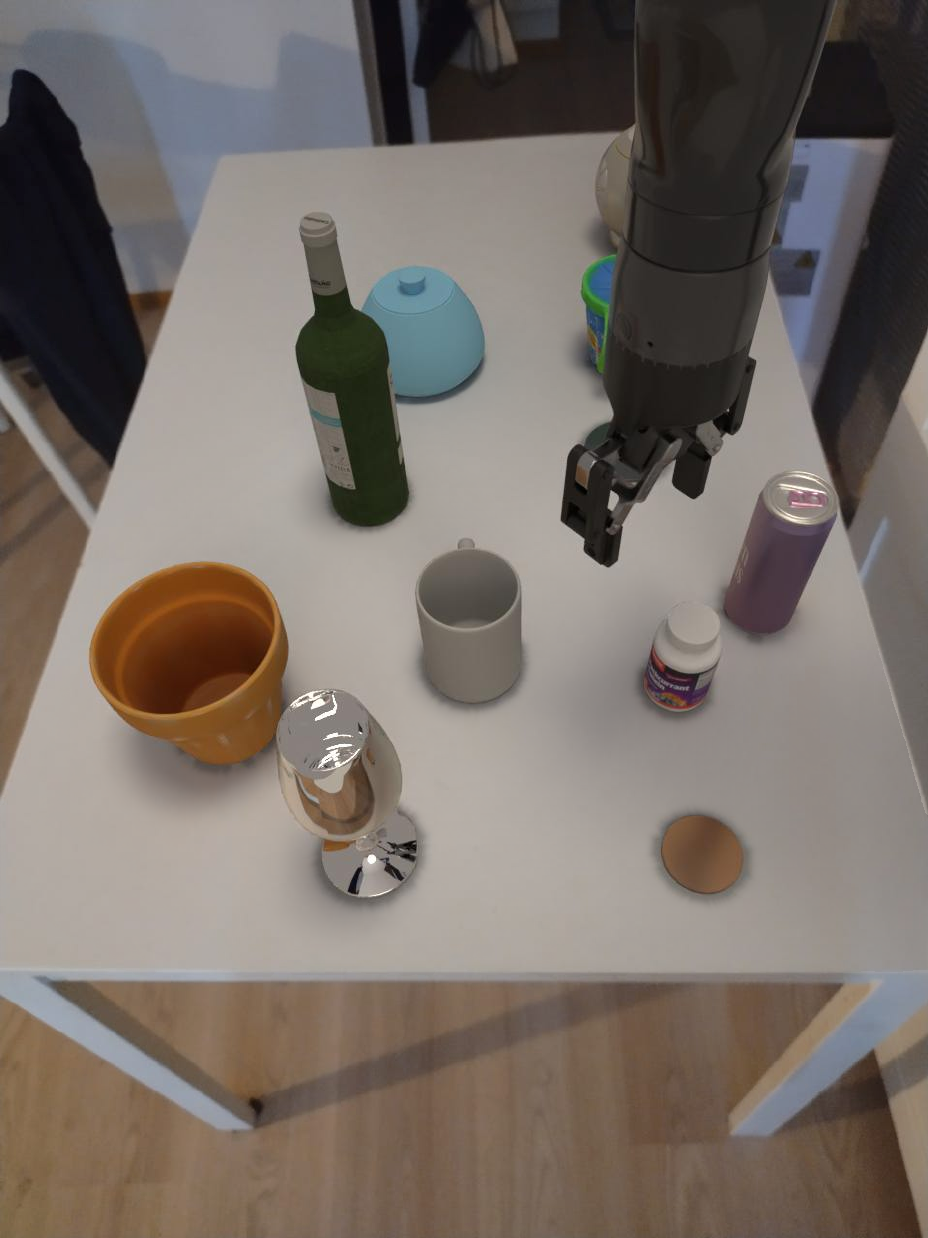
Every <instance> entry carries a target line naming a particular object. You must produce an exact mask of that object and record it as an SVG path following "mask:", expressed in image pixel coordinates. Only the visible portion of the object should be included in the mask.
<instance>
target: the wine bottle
mask: <svg viewBox="0 0 928 1238" xmlns="http://www.w3.org/2000/svg"><path fill="white" fill-rule="evenodd" d="M298 231H299V237H300V241H301V243H302V244H303V249H304V255H305V261H306V266H307V272H308V278H309V282H310V283H309V284H310V289H311V295H312V302H313V307H314V313H313V315H312V316H311V317H310V318H309V319H308V321H307V322H305V324H304V325H303V326H302V328H301V329H300V331H299V333H298V337H297V338H296V343H295V346H294V350H295V358H296V359H295V360H296V364H297V369H298V372H299V375H300V380H301V385H302V387H303V392H304V395H305V401H306V404H307V407H308V411H309V415H310V419H311V423H312V427H313V430H314V435H315V438H316V439H315V440H316V443H317V447H318V450H319V454H320V459H321V462H322V466H323V471H324V475H325V478H326V483H327V486H328V490H329V494H330V498H331V502H332V506H333V509H334V510H335V511H336V513H337V514H338V516H339V517H340V518H342V519H344V520H345V521H346V522H348V523H351V524H354V525H357V526H369V527H370V526H377V525H382V524H384V523H387V522H389V521H391V520H393V519H394V518H395V517H397V516H398V515H399V514H401V513H402V512H403V509H404V508H405V507H406V505H407V504H408V499H409V495H410V492H409V491H410V490H409V484H408V477H407V471H406V469H407V468H406V463H405V456H404V450H403V449H404V448H403V444H402V443H403V442H402V436H401V429H400V421H399V415H398V409H397V400H396V394H394V387H393V380H392V373H391V366H390V359H389V352H388V346H387V342H386V337H385V335H384V332H383V330H382V329H381V328H380V327H379V325H378V324H377V323H376V322H375V321H374V320H373V318H371V317H370V316H368V315H366V314H364V313H363V312H361V310H359V309H357V308H354V306H353V304H352V302H351V298H350V297H351V296H350V293H349V288H348V284H347V280H346V275H345V270H344V265H343V261H342V256H341V252H340V247H339V242H338V239H337V238H338V229H337V225H336V222H335V220H334V219H333V217H332V216H331V215H330V214H329V213H327V212H324V211H314V212H310V213H307V214H305V215H303V216H302V217H301V218H300V221H299V227H298Z"/></svg>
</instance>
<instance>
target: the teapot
mask: <svg viewBox="0 0 928 1238" xmlns="http://www.w3.org/2000/svg"><path fill="white" fill-rule="evenodd" d="M635 126H636V122H634V124H633V125H632V126H630V127H628V128H627V129H625V130H624V131H622V132H621V133H620V134H619V135H618V136H616V137H615V138H614V139H613V141H612V142H611V143H610V144H609V146H608V147H607V148H606V150H605V152H604V154H603V155H602V157H601V160H600V161H599V164H598V167H597V171H596V175H595V181H594V182H595V183H594V193H595V194H594V195H595V201H596V206H597V209H598V212H599V214H600V216H601V218H602V220H603V221H604V223H605V224H606V226H607V227H608V228H609V229H610V231H609V232H610V233H609V240H610V243H611V245H612V246H613V248H614V249H616V251H617V250H618V246H619V243H620V238H621V232H622V226H623V216H624V207H625V197H626V187H627V177H628V165H629V158H630V152H631V147H632V142H633V137H634V131H635Z"/></svg>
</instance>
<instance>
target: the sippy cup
mask: <svg viewBox="0 0 928 1238" xmlns="http://www.w3.org/2000/svg"><path fill="white" fill-rule="evenodd" d="M616 254H617V253H614V254H610V255H607V256H605V257H602V258H600V259H598V260H596V261H595V262H593V263H591V264H590V265H589V267H587V268H586V270H585V271H584V273H583V275H582V281H581V289H580V296H581V298H582V301H583V302H584V303H585V315H586V316H585V318H586V330H587V338H588V339H587V340H588V350H589V355H590V359H591V363H592V364H593V365H595V366H596V367H597V371H598V373H600V374H601V375H603V366H604V356H605V346H606V335H607V324H608V314H609V303H610V293H611V282H612V274H613V268H614V263H615V258H616Z"/></svg>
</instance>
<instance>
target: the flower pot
mask: <svg viewBox="0 0 928 1238" xmlns="http://www.w3.org/2000/svg"><path fill="white" fill-rule="evenodd" d="M282 616H283V615H282V613H281V610H280V607H279V604H278V602H277V600H276V598H275V596H274V594H273V592H272V591H271V589H270V588H269V587H268V586H267V584H265V583H264V582H263V580H261V579H260V578H259V577H257V576H256V575H254V574H253V573H251V572H250V571H248V570H246V569H244V568H242V567H239V566H236V565H233V564H230V563H225V562H218V561H192V562H184V563H180V564H176V565H175V564H174V565H171V566H167V567H165V568H162V569H160V570H157V571H155V572H153V573H150V574H148V575H146V576H144V577H142V578H141V579H139V580H137V581H136V582H134V583H133V584H131V586H129V587H128V588H127V589H125V590H124V591H122V593H120V595H118V596H117V597H116V598H115V599H114V600H113V601H112V602H111V604H110V605H109V606H108V607H107V608H106V610H105V611H104V613H103V614H102V616H101V617H100V618H99V621H98V623H97V625H96V626H95V629H94V631H93V634H92V637H91V641H90V646H89V652H88V663H89V664H88V665H89V670H90V675H91V677H92V680H93V683H94V685H95V687H96V688H97V690H98V691H99V693H100V694H101V696H102V697H103V698H104V699H105V700H106V702H107V703H108V705H109V706H110V707H111V708H112V709H113V710H114V711H115V713H116V714H117V715H118V716H119V717H120V718H121V719H122V721H124V722H125V723H126V724H128V725H129V726H130V727H131V728H133V729H134V730H136V731H138V732H140V733H142V734H143V735H147V736H149V737H151V738H152V737H153V738H155V739H160V740H165V741H169V743H171V744H173V745H174V746H176V747H177V748H179V749H181V750H182V751H184V752H185V753H187V754H188V755H190V756H191V757H193V758H194V759H196V760H197V761H200V762H203V763H205V764H210V765H214V766H228V765H233V764H237V763H242V762H243V761H246V760H248V759H250V758H252V757H254V756H256V755H257V754H259V753H260V752H261V751H262V750H264V749H265V748H266V747H267V746H268V744H270V743H271V741H272V740H273V738H274V737H275V736H276V732H277V727H278V723H279V721H280V718H281V716H282V715H283V713H282V711H283V709H282V708H283V685H282V682H283V681H282V679H283V677H284V675H285V672H286V668H287V665H288V660H289V650H290V649H289V648H290V647H289V639H288V638H289V637H288V634H287V630H286V626H285V623H284V619H283V617H282Z"/></svg>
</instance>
